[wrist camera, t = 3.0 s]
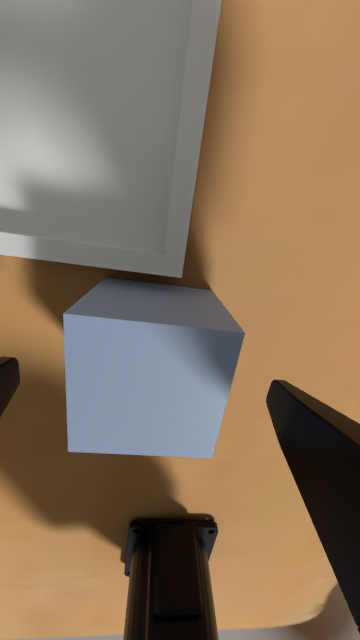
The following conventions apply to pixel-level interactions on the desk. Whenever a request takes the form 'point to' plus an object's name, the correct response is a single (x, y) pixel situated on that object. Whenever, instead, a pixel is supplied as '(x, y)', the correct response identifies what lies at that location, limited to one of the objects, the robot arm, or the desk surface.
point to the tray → (102, 129)
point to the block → (148, 369)
